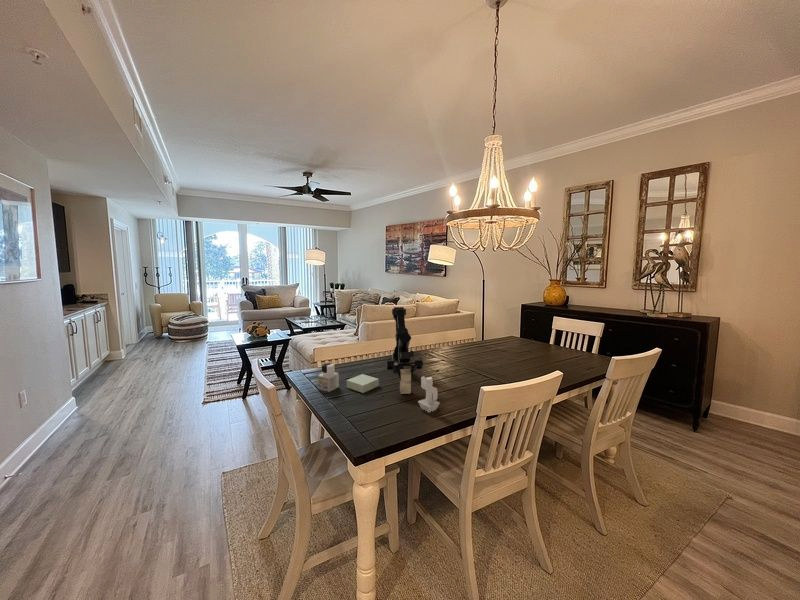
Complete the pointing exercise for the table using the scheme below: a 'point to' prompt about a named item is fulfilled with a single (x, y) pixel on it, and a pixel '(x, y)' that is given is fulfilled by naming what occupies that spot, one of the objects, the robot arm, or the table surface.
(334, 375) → the container
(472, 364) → the table surface
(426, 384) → the figurine
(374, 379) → the sage base block
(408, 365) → the robot arm
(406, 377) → the maple block
